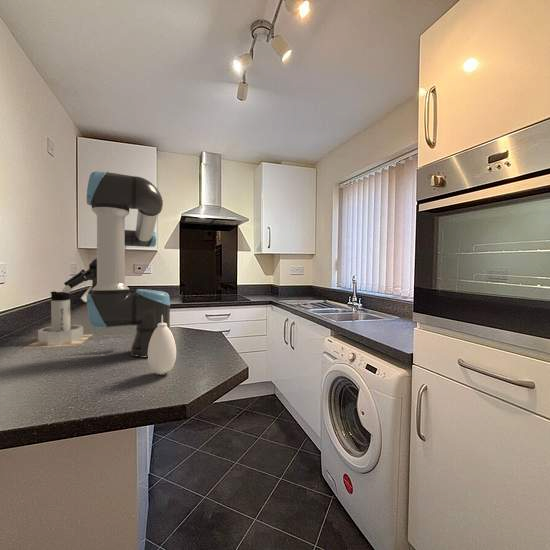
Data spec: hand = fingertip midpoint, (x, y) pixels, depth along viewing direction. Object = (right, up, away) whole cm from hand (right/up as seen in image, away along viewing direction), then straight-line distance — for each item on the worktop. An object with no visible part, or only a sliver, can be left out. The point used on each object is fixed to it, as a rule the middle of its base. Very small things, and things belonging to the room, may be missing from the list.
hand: (71, 299), depth 124 cm
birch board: (-1, -18, -4) cm, 18 cm away
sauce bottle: (+52, -20, -36) cm, 66 cm away
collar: (-1, -17, -4) cm, 17 cm away
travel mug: (-2, -17, -4) cm, 17 cm away
